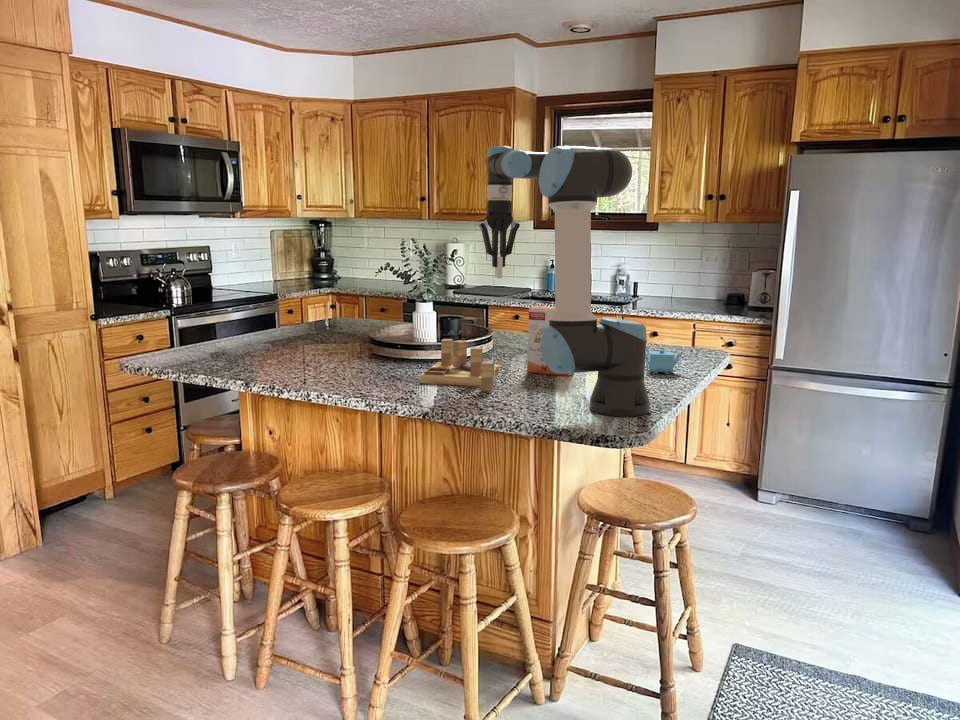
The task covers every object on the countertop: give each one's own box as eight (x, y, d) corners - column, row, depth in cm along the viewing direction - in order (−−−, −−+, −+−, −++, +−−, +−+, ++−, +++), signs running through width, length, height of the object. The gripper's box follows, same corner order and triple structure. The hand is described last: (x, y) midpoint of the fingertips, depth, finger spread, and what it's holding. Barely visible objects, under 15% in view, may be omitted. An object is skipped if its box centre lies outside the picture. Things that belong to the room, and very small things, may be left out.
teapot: (682, 371, 229) (683, 348, 228) (683, 375, 224) (685, 352, 222) (643, 370, 232) (645, 347, 230) (644, 374, 226) (645, 350, 224)
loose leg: (491, 391, 201) (492, 363, 200) (481, 390, 202) (481, 363, 200) (493, 389, 204) (494, 361, 203) (483, 388, 205) (483, 361, 203)
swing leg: (485, 370, 215) (485, 344, 214) (479, 371, 213) (479, 345, 211) (459, 365, 222) (459, 340, 221) (452, 366, 220) (452, 341, 218)
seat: (486, 386, 207) (487, 351, 205) (420, 383, 211) (420, 348, 209) (499, 372, 226) (499, 339, 224) (438, 369, 230) (438, 337, 228)
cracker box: (526, 373, 226) (527, 307, 222) (532, 369, 231) (533, 305, 227) (569, 376, 221) (571, 309, 216) (574, 373, 226) (576, 307, 222)
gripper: (482, 199, 211) (482, 279, 216) (524, 199, 215) (522, 278, 220) (475, 199, 218) (474, 277, 223) (515, 200, 222) (514, 276, 227)
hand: (498, 277), depth 221 cm, fingers closed
